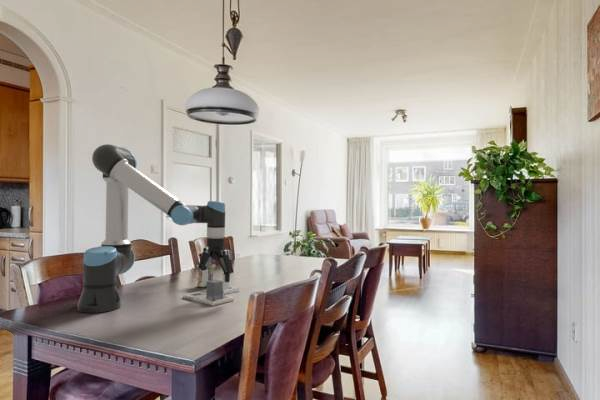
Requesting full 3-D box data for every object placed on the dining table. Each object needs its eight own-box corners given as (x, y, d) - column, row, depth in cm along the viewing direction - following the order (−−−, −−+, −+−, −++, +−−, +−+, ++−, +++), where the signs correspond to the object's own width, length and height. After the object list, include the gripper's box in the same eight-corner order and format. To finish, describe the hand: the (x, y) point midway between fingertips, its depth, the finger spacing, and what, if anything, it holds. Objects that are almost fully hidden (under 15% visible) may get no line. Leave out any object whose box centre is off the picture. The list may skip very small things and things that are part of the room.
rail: (193, 301, 169) (193, 297, 169) (182, 298, 174) (182, 294, 174) (239, 291, 190) (239, 287, 190) (228, 288, 195) (228, 285, 195)
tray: (212, 305, 162) (213, 301, 162) (196, 301, 169) (196, 297, 169) (233, 300, 171) (233, 297, 171) (216, 296, 178) (216, 293, 178)
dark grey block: (214, 302, 166) (214, 282, 166) (206, 300, 169) (206, 281, 170) (223, 300, 170) (223, 281, 170) (215, 298, 173) (215, 279, 173)
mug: (217, 284, 203) (217, 263, 204) (213, 288, 194) (213, 266, 194) (193, 284, 203) (193, 263, 204) (188, 288, 194) (188, 266, 194)
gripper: (242, 238, 165) (241, 290, 165) (204, 235, 181) (203, 282, 181) (228, 240, 159) (227, 293, 159) (190, 235, 175) (189, 284, 175)
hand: (215, 287), depth 170 cm, fingers open, 13 cm apart
